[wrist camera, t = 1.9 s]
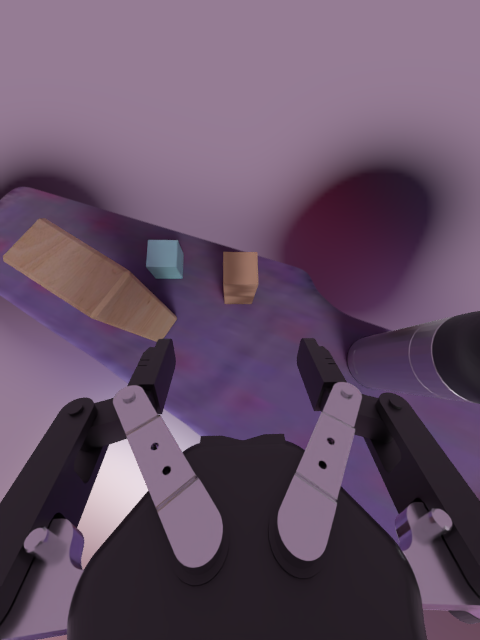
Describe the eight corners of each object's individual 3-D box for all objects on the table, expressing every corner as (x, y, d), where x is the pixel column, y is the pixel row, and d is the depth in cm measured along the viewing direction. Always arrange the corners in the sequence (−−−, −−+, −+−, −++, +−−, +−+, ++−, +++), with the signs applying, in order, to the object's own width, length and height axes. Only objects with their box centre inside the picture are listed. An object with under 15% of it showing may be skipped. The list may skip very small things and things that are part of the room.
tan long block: (250, 278, 43) (257, 252, 33) (251, 303, 42) (258, 284, 32) (224, 278, 42) (223, 251, 33) (224, 303, 41) (223, 283, 32)
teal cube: (183, 254, 43) (177, 240, 38) (182, 278, 42) (176, 267, 37) (157, 254, 43) (148, 239, 38) (155, 278, 42) (146, 267, 37)
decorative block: (110, 311, 40) (-4, 256, 21) (130, 286, 41) (40, 212, 22) (159, 344, 39) (90, 321, 20) (179, 318, 40) (131, 271, 21)
